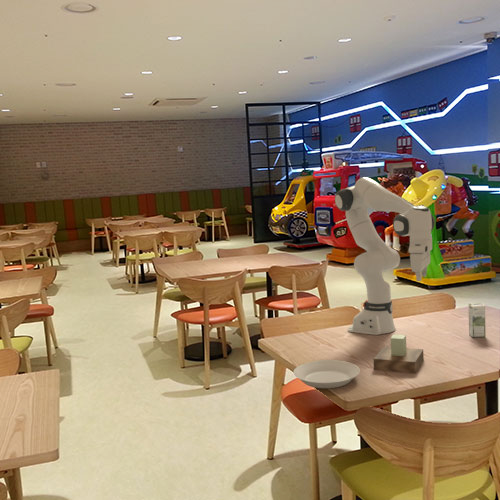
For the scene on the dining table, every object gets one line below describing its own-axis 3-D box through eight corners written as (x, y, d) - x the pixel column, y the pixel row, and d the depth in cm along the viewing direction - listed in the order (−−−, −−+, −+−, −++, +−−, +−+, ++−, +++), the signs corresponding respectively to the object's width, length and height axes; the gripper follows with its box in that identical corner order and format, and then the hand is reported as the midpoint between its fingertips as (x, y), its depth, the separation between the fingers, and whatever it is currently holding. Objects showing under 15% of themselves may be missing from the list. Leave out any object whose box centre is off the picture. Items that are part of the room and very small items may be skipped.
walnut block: (373, 371, 226) (373, 358, 225) (384, 358, 240) (383, 346, 239) (415, 374, 218) (415, 362, 218) (423, 361, 232) (423, 349, 232)
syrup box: (482, 333, 261) (481, 302, 260) (486, 337, 256) (485, 305, 254) (469, 334, 262) (468, 303, 260) (472, 337, 256) (471, 306, 254)
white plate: (317, 365, 237) (316, 356, 236) (372, 375, 221) (371, 365, 220) (280, 384, 218) (280, 375, 217) (338, 397, 202) (337, 387, 201)
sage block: (391, 355, 227) (390, 338, 226) (393, 351, 232) (393, 334, 231) (404, 356, 225) (403, 338, 224) (406, 352, 230) (405, 335, 229)
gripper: (418, 241, 247) (419, 273, 249) (407, 249, 230) (408, 283, 232) (433, 241, 244) (434, 273, 246) (423, 249, 227) (424, 284, 229)
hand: (421, 278), depth 239 cm, fingers open, 8 cm apart
